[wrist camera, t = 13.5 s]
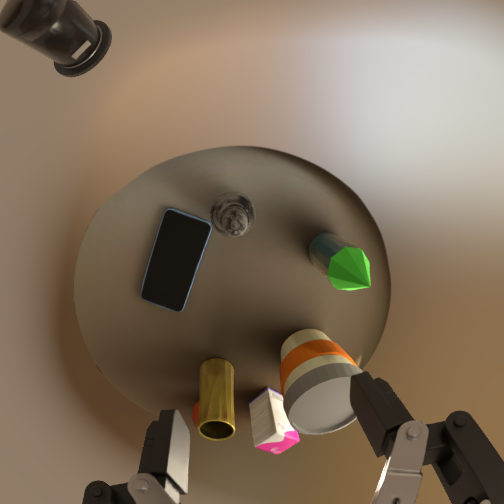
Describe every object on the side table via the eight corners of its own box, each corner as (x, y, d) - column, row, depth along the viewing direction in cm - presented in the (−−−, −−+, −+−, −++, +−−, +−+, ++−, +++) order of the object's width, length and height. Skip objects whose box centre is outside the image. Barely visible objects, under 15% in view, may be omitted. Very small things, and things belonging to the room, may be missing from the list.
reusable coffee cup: (350, 344, 48) (386, 396, 33) (300, 386, 49) (321, 444, 35) (309, 305, 45) (343, 359, 30) (255, 354, 46) (266, 417, 32)
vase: (209, 352, 45) (205, 412, 32) (240, 365, 47) (246, 425, 33) (194, 375, 47) (187, 434, 33) (224, 387, 48) (225, 446, 34)
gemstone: (366, 240, 33) (391, 253, 27) (371, 283, 35) (394, 301, 29) (322, 253, 33) (341, 269, 27) (330, 297, 35) (348, 319, 29)
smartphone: (214, 223, 39) (182, 315, 42) (214, 223, 40) (183, 312, 43) (164, 206, 38) (138, 299, 41) (165, 205, 38) (139, 296, 42)
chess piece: (208, 229, 40) (202, 250, 28) (215, 188, 39) (210, 193, 27) (249, 235, 41) (259, 259, 29) (256, 194, 39) (269, 202, 28)
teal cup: (306, 235, 42) (326, 251, 33) (340, 229, 42) (367, 243, 33) (310, 270, 43) (329, 294, 34) (343, 264, 43) (368, 284, 35)
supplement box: (247, 403, 49) (252, 447, 38) (268, 386, 49) (277, 430, 38) (269, 413, 51) (277, 456, 40) (289, 397, 50) (301, 440, 39)
